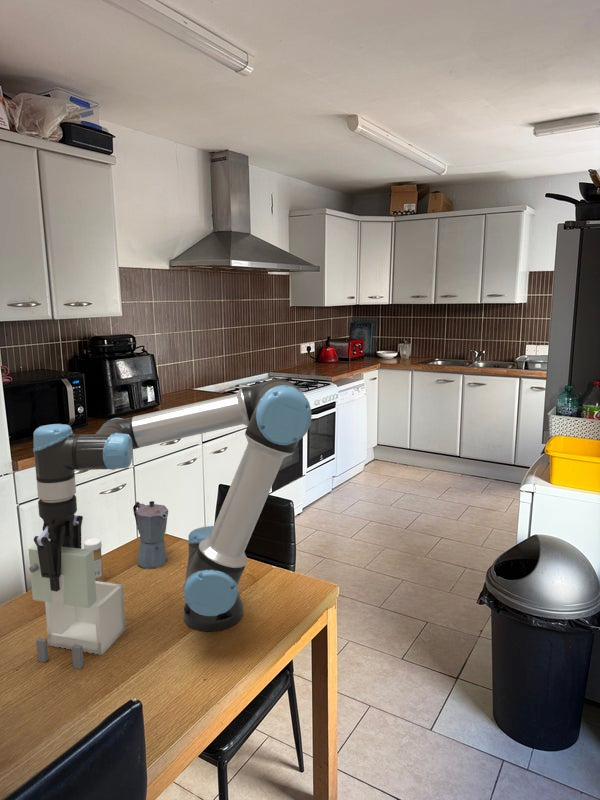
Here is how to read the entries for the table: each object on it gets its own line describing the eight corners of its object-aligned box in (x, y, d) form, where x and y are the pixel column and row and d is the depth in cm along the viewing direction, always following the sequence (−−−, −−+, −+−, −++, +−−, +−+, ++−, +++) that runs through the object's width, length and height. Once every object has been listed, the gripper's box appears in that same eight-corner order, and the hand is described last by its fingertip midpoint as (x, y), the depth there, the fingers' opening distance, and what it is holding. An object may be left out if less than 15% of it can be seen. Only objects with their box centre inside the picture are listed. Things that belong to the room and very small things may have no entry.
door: (96, 601, 123) (93, 550, 121) (85, 611, 119) (81, 558, 117) (42, 593, 126) (37, 543, 124) (28, 602, 122) (24, 551, 120)
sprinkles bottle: (104, 581, 159) (102, 536, 157) (102, 589, 155) (100, 543, 153) (87, 582, 158) (85, 538, 156) (85, 590, 154) (82, 545, 152)
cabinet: (125, 630, 136) (123, 584, 134) (86, 670, 121) (83, 619, 119) (75, 622, 139) (72, 577, 137) (32, 659, 124) (27, 610, 122)
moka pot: (157, 575, 163) (154, 510, 160) (121, 562, 171) (118, 500, 168) (180, 562, 171) (178, 500, 167) (145, 550, 179) (142, 491, 176)
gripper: (65, 483, 127) (72, 578, 131) (14, 508, 112) (24, 615, 116) (94, 486, 126) (100, 582, 130) (47, 512, 110) (55, 620, 114)
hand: (64, 597), depth 123 cm, fingers closed on door, 3 cm apart
